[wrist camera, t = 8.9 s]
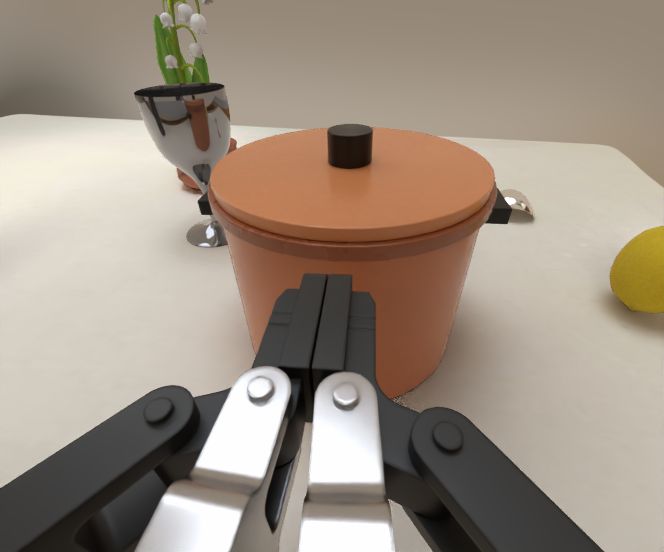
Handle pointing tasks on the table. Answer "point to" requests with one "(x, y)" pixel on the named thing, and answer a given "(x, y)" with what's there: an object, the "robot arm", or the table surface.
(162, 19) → the potted flower
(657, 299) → the lemon
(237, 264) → the copper pot
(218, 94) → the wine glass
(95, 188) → the table surface
